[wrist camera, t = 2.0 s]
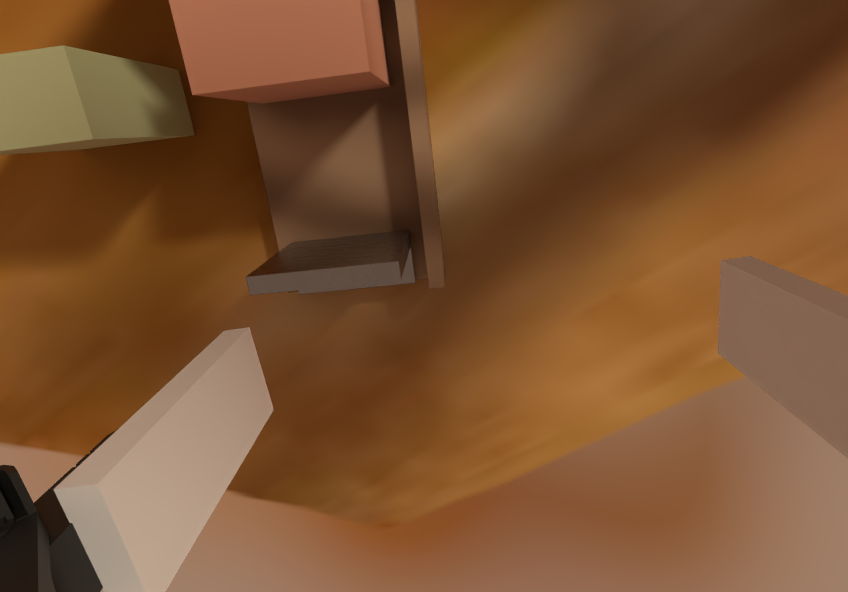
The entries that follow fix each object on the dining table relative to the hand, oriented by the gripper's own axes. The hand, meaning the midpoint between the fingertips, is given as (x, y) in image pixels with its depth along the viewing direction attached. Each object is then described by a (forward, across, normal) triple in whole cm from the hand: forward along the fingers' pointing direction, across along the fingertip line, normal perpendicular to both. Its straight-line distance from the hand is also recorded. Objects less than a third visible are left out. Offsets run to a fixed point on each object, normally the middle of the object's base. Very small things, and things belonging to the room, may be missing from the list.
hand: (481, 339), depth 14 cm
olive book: (+21, -20, +10) cm, 31 cm away
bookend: (+19, -7, -2) cm, 21 cm away
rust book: (+19, -7, +11) cm, 23 cm away
